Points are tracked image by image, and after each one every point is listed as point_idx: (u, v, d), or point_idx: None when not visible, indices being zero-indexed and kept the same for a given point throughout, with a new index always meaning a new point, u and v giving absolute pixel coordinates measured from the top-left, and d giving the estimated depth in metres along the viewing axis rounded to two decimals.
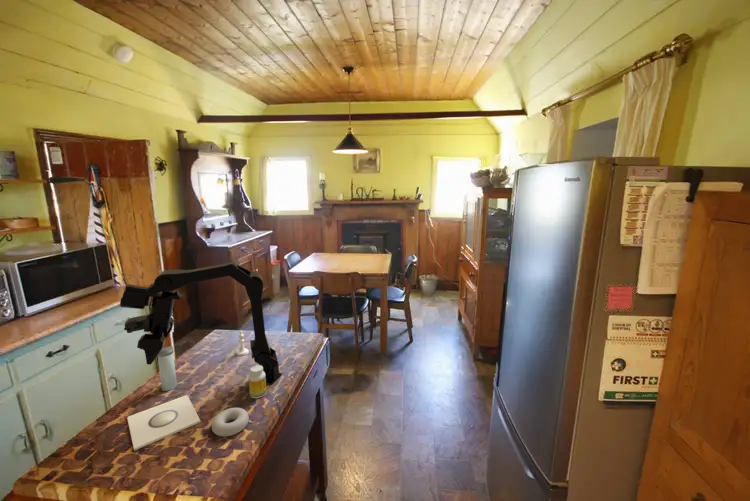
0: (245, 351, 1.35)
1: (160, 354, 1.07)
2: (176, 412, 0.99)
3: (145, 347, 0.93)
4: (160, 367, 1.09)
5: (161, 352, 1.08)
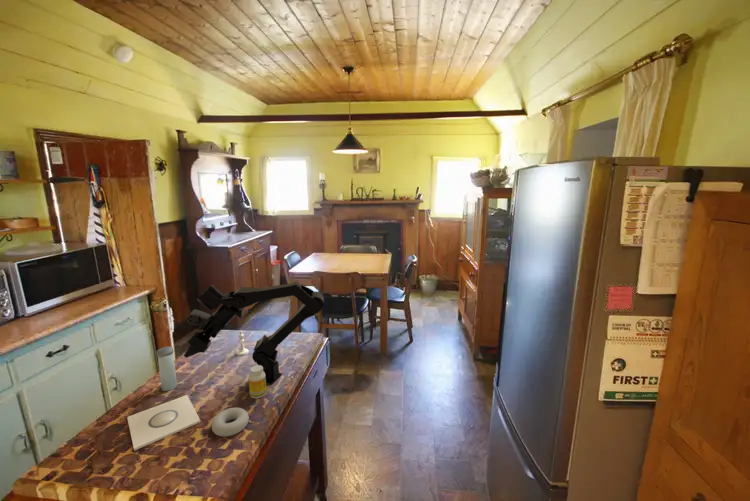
0: (245, 351, 1.35)
1: (160, 354, 1.07)
2: (176, 412, 0.99)
3: (193, 345, 1.02)
4: (160, 367, 1.09)
5: (161, 352, 1.08)
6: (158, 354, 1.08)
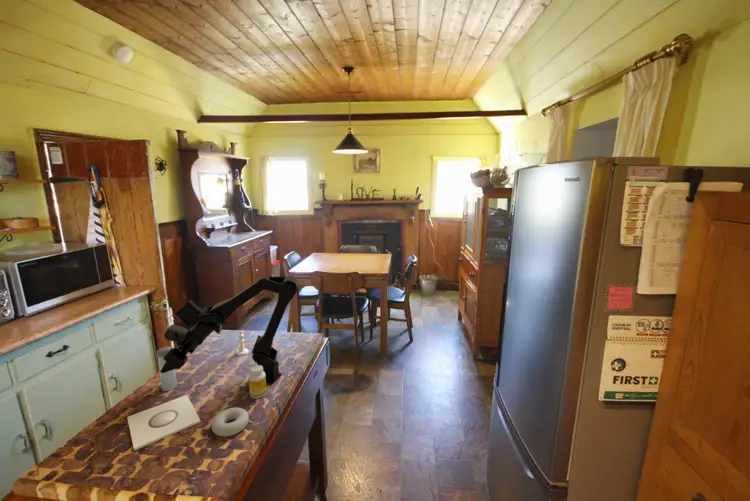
0: (245, 351, 1.35)
1: (160, 354, 1.07)
2: (176, 412, 0.99)
3: (169, 361, 1.01)
4: (160, 367, 1.09)
5: (161, 352, 1.08)
6: (158, 354, 1.08)
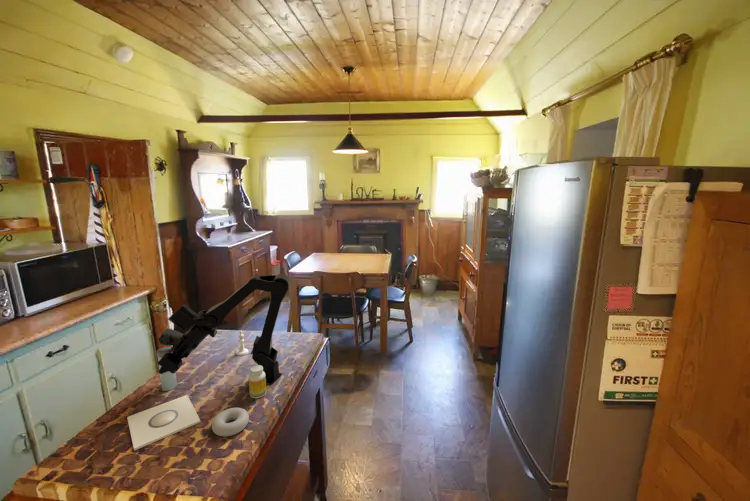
0: (245, 351, 1.35)
1: (160, 354, 1.07)
2: (176, 412, 0.99)
3: (163, 366, 1.01)
4: (160, 367, 1.09)
5: (161, 352, 1.08)
6: (158, 354, 1.08)
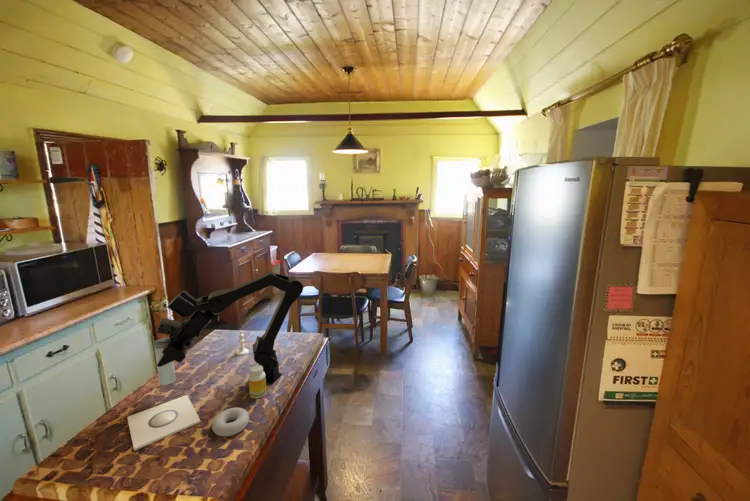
0: (245, 351, 1.35)
1: (159, 345, 1.00)
2: (176, 412, 0.99)
3: (169, 355, 0.95)
4: (158, 360, 1.01)
5: (159, 343, 1.01)
6: (156, 346, 1.00)
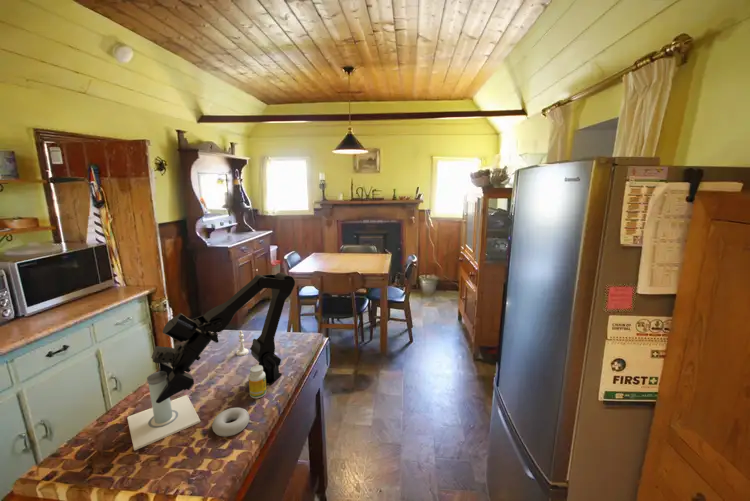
0: (245, 351, 1.35)
1: (156, 380, 0.92)
2: (176, 412, 0.99)
3: (178, 384, 0.89)
4: (156, 396, 0.92)
5: (156, 378, 0.92)
6: (153, 381, 0.91)
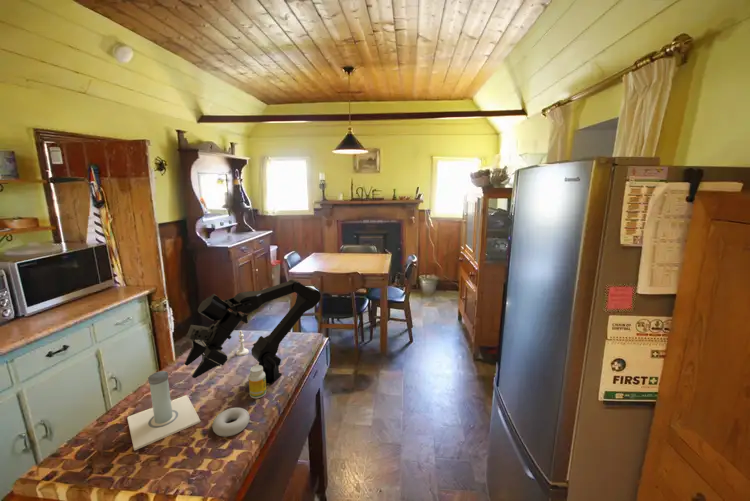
0: (245, 351, 1.35)
1: (158, 380, 0.92)
2: (176, 412, 0.99)
3: (213, 359, 0.94)
4: (156, 396, 0.92)
5: (157, 378, 0.92)
6: (154, 381, 0.91)
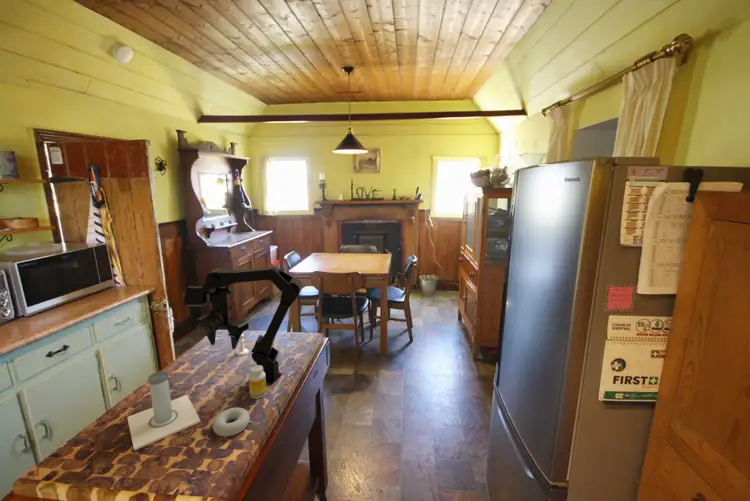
0: (245, 351, 1.35)
1: (158, 380, 0.92)
2: (176, 412, 0.99)
3: (241, 331, 1.09)
4: (156, 396, 0.93)
5: (157, 378, 0.92)
6: (154, 381, 0.91)
